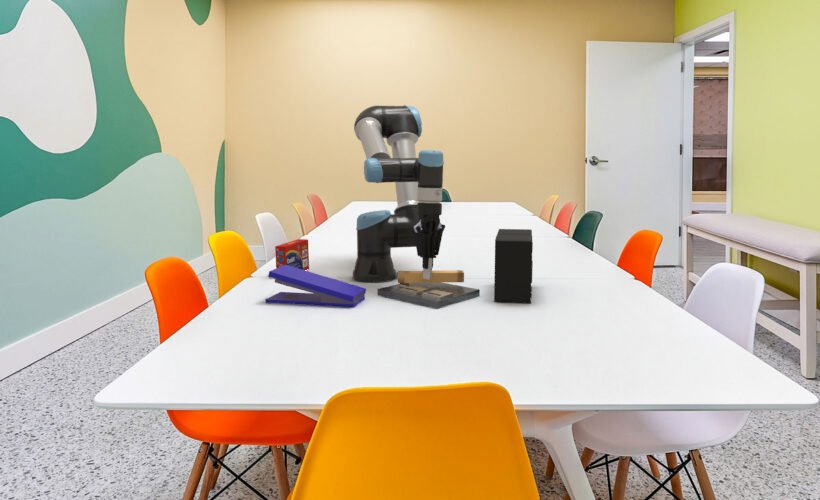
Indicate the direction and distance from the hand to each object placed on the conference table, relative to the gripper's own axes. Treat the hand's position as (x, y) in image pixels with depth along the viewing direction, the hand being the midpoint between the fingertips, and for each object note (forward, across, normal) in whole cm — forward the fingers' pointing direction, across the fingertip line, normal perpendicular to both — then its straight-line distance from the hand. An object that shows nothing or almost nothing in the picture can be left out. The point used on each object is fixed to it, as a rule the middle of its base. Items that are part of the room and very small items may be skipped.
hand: (427, 278), depth 180 cm
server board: (+5, -1, -2) cm, 5 cm away
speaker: (+4, +19, -19) cm, 27 cm away
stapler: (+7, -28, +19) cm, 34 cm away
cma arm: (+2, +3, +2) cm, 4 cm away
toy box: (+6, -9, +57) cm, 58 cm away
